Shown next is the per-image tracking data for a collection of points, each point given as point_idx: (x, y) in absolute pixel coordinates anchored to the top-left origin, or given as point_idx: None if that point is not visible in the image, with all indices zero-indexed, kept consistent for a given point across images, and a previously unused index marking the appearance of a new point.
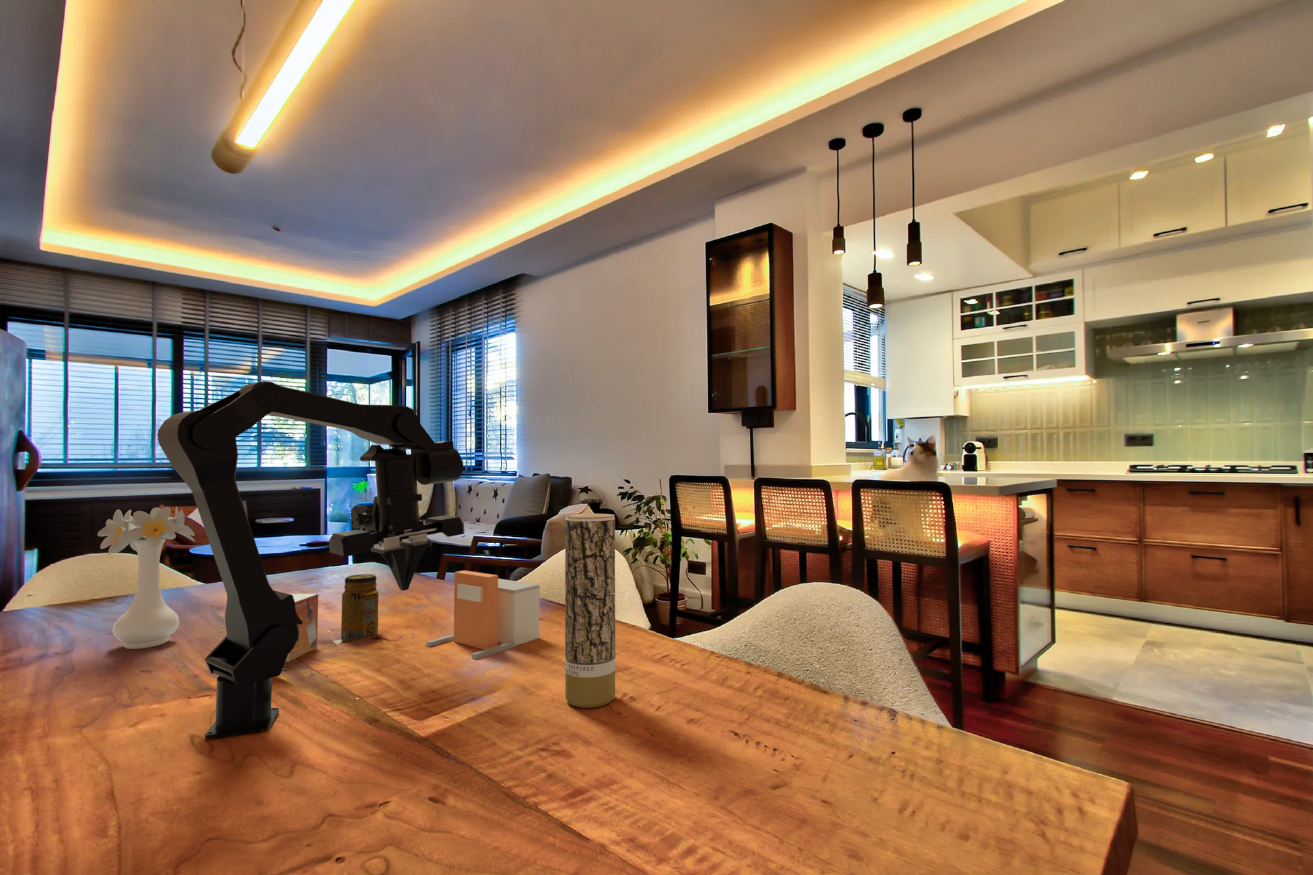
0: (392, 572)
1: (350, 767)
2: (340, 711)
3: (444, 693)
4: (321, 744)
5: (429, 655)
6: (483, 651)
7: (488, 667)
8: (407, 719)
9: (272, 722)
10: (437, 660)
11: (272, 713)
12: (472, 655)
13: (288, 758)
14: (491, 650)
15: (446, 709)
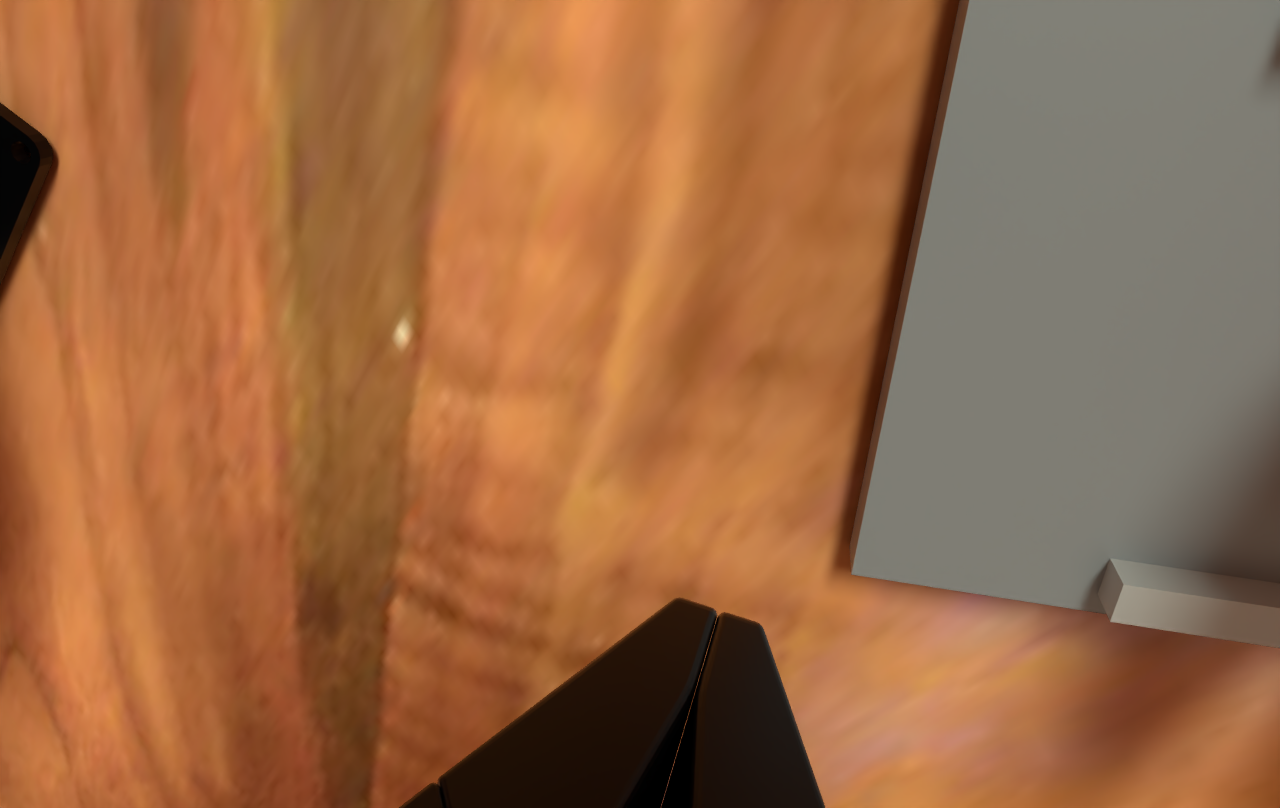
0: (476, 763)
1: (128, 787)
2: (272, 409)
3: None
4: (111, 605)
5: None
6: (1197, 623)
7: None
8: (411, 706)
9: (4, 274)
10: None
11: (4, 201)
12: (1117, 582)
13: (5, 597)
14: (1255, 642)
15: None
